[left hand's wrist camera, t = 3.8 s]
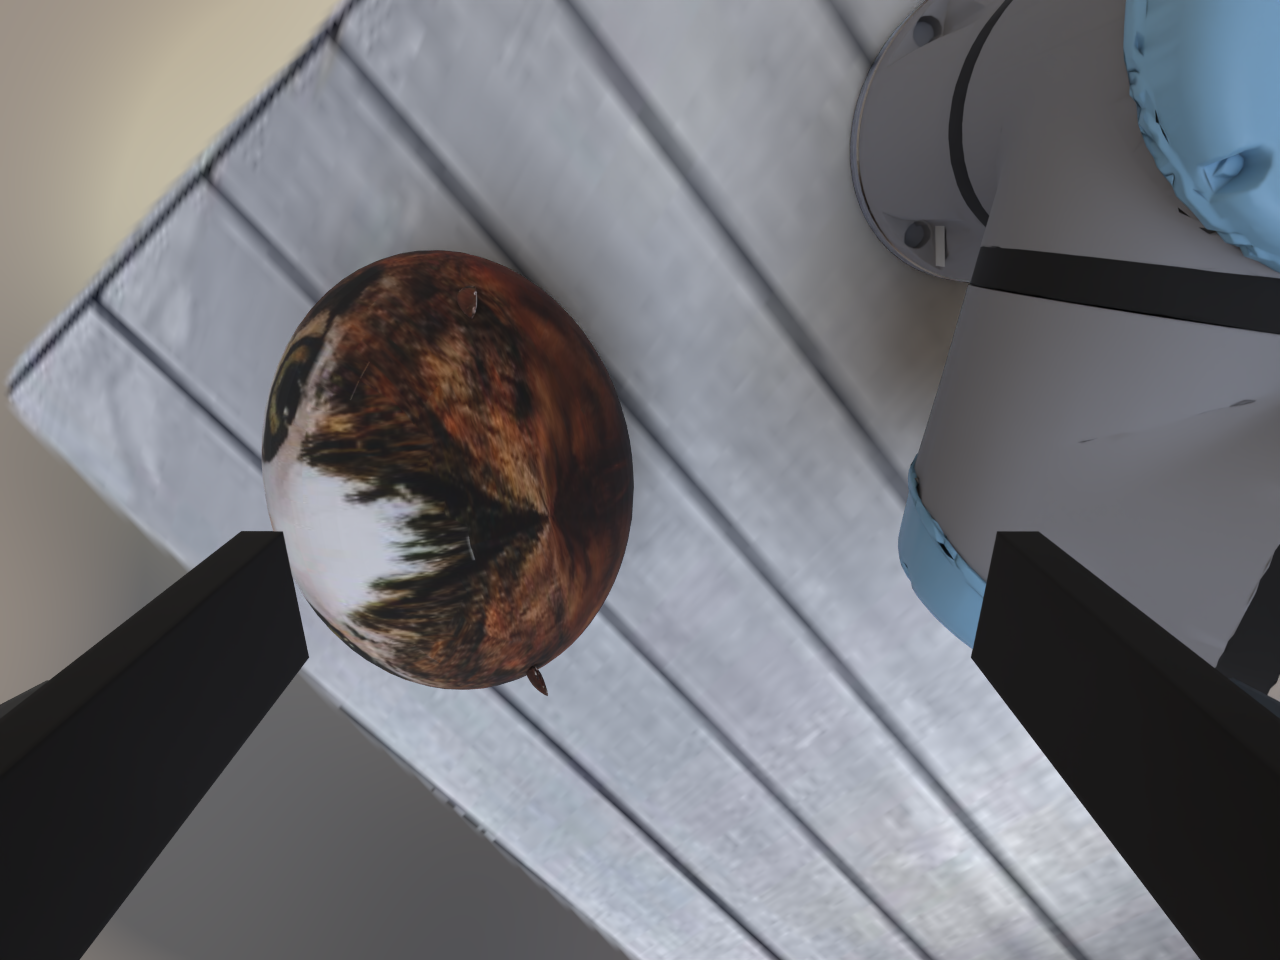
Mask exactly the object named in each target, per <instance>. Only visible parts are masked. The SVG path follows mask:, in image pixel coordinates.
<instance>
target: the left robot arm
mask: <svg viewBox="0 0 1280 960" xmlns="http://www.w3.org/2000/svg"><path fill="white" fill-rule="evenodd" d="M850 160H851V171H852V179H853V184H854V188H855V193H856V196H857V199H858V202H859V205H860V207H861V209H862V212H863V214H864V216H865V218H866V220H867V222H868V224H869V225H870V227H871V229H872V230H873V232H874V233H875V234H876V236H877V237H878V238H879V240H880V241H881V242H882V243H883V244H884V245H885V246H886V247H887V249H888V250H890V251H891V252H892V253H893V254H894V255H895V256H896V257H898V258H899V259H901V260H902V261H903V262H905V263H906V264H908V265H910V266H912V267H913V268H915V269H917V270H919V271H922V272H924V273H927V274H929V275H932V276H936V277H940V278H944V279H949V280H955V281H961V282H970V284H968V288H967V291H966V294H965V298H964V301H963V305H962V308H961V312H960V315H959V319H958V322H957V326H956V329H955V333H954V336H953V340H952V343H951V347H950V350H949V353H948V357H947V360H946V364H945V367H944V371H943V374H942V378H941V381H940V385H939V388H938V391H937V394H936V397H935V401H934V404H933V407H932V410H931V414H930V417H929V420H928V423H927V427H926V430H925V433H924V436H923V439H922V443H921V446H920V449H919V452H918V454H917V455H916V456H915V458H914V460H913V462H912V464H911V466H910V469H909V474H908V488H909V494H908V499H907V503H906V507H905V511H904V515H903V519H902V523H901V527H900V532H899V539H898V550H899V557H900V562H901V565H902V567H903V569H904V571H905V573H906V575H907V577H908V578H909V579H910V581H911V584H912V588H913V590H914V592H915V593H916V595H917V596H918V598H919V599H920V600H921V601H922V603H923V604H924V605H925V606H926V608H927V609H928V610H929V611H930V612H931V613H932V614H933V615H934V616H935V618H936V619H937V620H938V621H939V622H941V623H942V624H943V625H944V626H945V627H946V628H947V629H948V630H949V631H950V632H951V633H953V634H954V635H955V636H956V637H957V638H959V639H960V640H961V641H962V642H964V643H965V644H966V645H968V646H969V647H970V648H972V649H973V650H972V655H971V658H972V659H973V661H974V662H975V663H976V665H977V666H978V667H979V669H980V670H981V671H982V673H983V674H984V675H985V677H986V678H987V679H988V681H989V682H990V683H991V685H992V686H993V687H994V688H995V690H996V691H997V692H998V694H999V695H1000V696H1001V698H1002V699H1003V700H1004V702H1005V703H1006V704H1007V706H1008V707H1009V708H1010V710H1011V711H1012V712H1013V713H1014V715H1015V716H1016V717H1017V719H1018V720H1019V721H1020V723H1021V724H1022V725H1023V727H1024V728H1025V729H1026V731H1027V732H1028V733H1029V735H1030V736H1031V737H1032V739H1033V740H1034V741H1035V742H1036V744H1037V745H1038V746H1039V748H1040V749H1041V750H1042V752H1043V753H1044V754H1045V756H1046V757H1047V758H1048V760H1049V761H1050V762H1051V764H1052V765H1053V766H1054V767H1055V769H1056V770H1057V771H1058V773H1059V774H1060V775H1061V777H1062V778H1063V779H1064V781H1065V782H1066V783H1067V785H1068V786H1069V787H1070V789H1071V790H1072V791H1073V792H1074V794H1075V795H1076V796H1077V798H1078V799H1079V800H1080V802H1081V803H1082V804H1083V806H1084V807H1085V808H1086V810H1087V811H1088V812H1089V814H1090V815H1091V816H1092V818H1093V819H1094V820H1095V821H1096V823H1097V824H1098V825H1099V827H1100V828H1101V829H1102V831H1103V832H1104V833H1105V835H1106V836H1107V837H1108V839H1109V840H1110V841H1111V843H1112V844H1113V845H1114V846H1115V848H1116V849H1117V850H1118V852H1119V853H1120V854H1121V856H1122V857H1123V858H1124V860H1125V861H1126V862H1127V864H1128V865H1129V866H1130V868H1131V869H1132V870H1133V872H1134V873H1135V874H1136V875H1137V877H1138V878H1139V879H1140V881H1141V882H1142V883H1143V885H1144V886H1145V887H1146V889H1147V890H1148V891H1149V893H1150V894H1151V895H1152V897H1153V898H1154V899H1155V900H1156V902H1157V903H1158V904H1159V906H1160V907H1161V908H1162V910H1163V911H1164V912H1165V914H1166V915H1167V916H1168V918H1169V919H1170V920H1171V922H1172V923H1173V924H1174V925H1175V927H1176V928H1177V929H1178V931H1179V932H1180V933H1181V935H1182V936H1183V937H1184V939H1185V940H1186V941H1187V943H1188V944H1189V945H1190V947H1191V948H1192V949H1193V951H1194V952H1195V953H1196V954H1197V956H1198V957H1199V958H1200V960H1280V0H926V1H924V2H923V3H922V4H921V5H919V6H918V7H917V8H916V9H915V10H914V11H913V12H912V13H911V14H910V15H909V16H907V17H906V19H905V20H904V21H903V22H902V23H901V24H900V25H899V26H898V28H897V29H896V30H895V31H894V32H893V34H892V35H891V36H890V38H889V39H888V40H887V42H886V43H885V44H884V46H883V48H882V49H881V51H880V52H879V54H878V56H877V57H876V59H875V61H874V63H873V65H872V67H871V69H870V70H869V72H868V75H867V77H866V79H865V82H864V84H863V87H862V89H861V92H860V96H859V99H858V102H857V105H856V110H855V114H854V118H853V124H852V131H851V144H850ZM308 658H309V655H308V650H307V645H306V641H305V636H304V631H303V626H302V621H301V616H300V611H299V607H298V602H297V597H296V592H295V587H294V582H293V577H292V573H291V568H290V563H289V558H288V553H287V548H286V543H285V539H284V534H283V531H241V532H240V533H238V534H237V535H236V536H235V537H233V538H232V539H231V540H229V541H228V542H227V543H226V544H224V545H223V546H222V547H220V548H219V549H218V550H217V551H215V552H214V553H213V554H211V555H210V556H209V557H208V558H206V559H205V560H204V561H202V562H201V563H200V564H199V565H197V566H196V567H195V568H193V569H192V570H191V571H190V572H188V573H187V574H186V575H184V576H183V577H182V578H181V579H179V580H178V581H177V582H175V583H174V584H173V585H172V586H170V587H169V588H168V589H166V590H165V591H164V592H163V593H161V594H160V595H159V596H157V597H156V598H155V599H154V600H152V601H151V602H150V603H148V604H147V605H146V606H145V607H143V608H142V609H141V610H139V611H138V612H137V613H135V614H134V615H133V616H132V617H130V618H129V619H128V620H126V621H125V622H124V623H123V624H121V625H120V626H119V627H117V628H116V629H115V630H114V631H112V632H111V633H110V634H109V635H107V636H106V637H105V638H103V639H102V640H101V641H99V642H98V643H97V644H96V645H94V646H93V647H92V648H91V649H89V650H88V651H87V652H85V653H84V654H83V655H81V656H80V657H79V658H78V659H76V660H75V661H74V662H72V663H71V664H70V665H69V666H67V667H66V668H65V669H63V670H62V671H61V672H60V673H58V674H57V675H56V676H54V677H53V678H52V679H51V680H49V681H45V682H43V683H41V684H39V685H37V686H35V687H33V688H31V689H29V690H28V691H26V692H24V693H22V694H20V695H18V696H16V697H14V698H12V699H10V700H8V701H6V702H4V703H2V704H1V705H0V960H80V958H81V957H82V956H83V954H84V953H85V952H86V951H87V949H88V948H89V947H90V945H91V944H92V943H93V941H94V940H95V939H96V937H97V936H98V935H99V933H100V932H101V931H102V929H103V928H104V927H105V925H106V924H107V923H108V922H109V920H110V919H111V918H112V916H113V915H114V914H115V912H116V911H117V910H118V908H119V907H120V906H121V904H122V903H123V902H124V900H125V899H126V898H127V897H128V895H129V894H130V893H131V891H132V890H133V889H134V887H135V886H136V885H137V883H138V882H139V881H140V879H141V878H142V877H143V875H144V874H145V873H146V871H147V870H148V869H149V868H150V866H151V865H152V864H153V862H154V861H155V860H156V858H157V857H158V856H159V854H160V853H161V852H162V850H163V849H164V848H165V846H166V845H167V844H168V843H169V841H170V840H171V839H172V837H173V836H174V835H175V833H176V832H177V831H178V829H179V828H180V827H181V825H182V824H183V823H184V821H185V820H186V819H187V818H188V816H189V815H190V814H191V812H192V811H193V810H194V808H195V807H196V806H197V804H198V803H199V802H200V800H201V799H202V798H203V796H204V795H205V794H206V792H207V791H208V790H209V789H210V787H211V786H212V785H213V783H214V782H215V781H216V779H217V778H218V777H219V775H220V774H221V773H222V771H223V770H224V769H225V767H226V766H227V765H228V764H229V762H230V761H231V760H232V758H233V757H234V756H235V754H236V753H237V752H238V750H239V749H240V748H241V746H242V745H243V744H244V742H245V741H246V740H247V738H248V737H249V736H250V734H251V733H252V732H253V731H254V729H255V728H256V727H257V725H258V724H259V723H260V721H261V720H262V719H263V717H264V716H265V715H266V713H267V712H268V711H269V710H270V708H271V707H272V706H273V704H274V703H275V702H276V700H277V699H278V698H279V696H280V695H281V694H282V692H283V691H284V690H285V688H286V687H287V686H288V685H289V683H290V682H291V680H292V679H293V678H294V677H295V675H296V674H297V673H298V671H299V670H300V669H301V667H302V666H303V665H304V663H305V662H306V661H307V659H308Z"/></svg>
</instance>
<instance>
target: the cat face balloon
mask: <svg viewBox="0 0 1280 960" xmlns="http://www.w3.org/2000/svg"><path fill="white" fill-rule="evenodd" d="M262 471H263V483H264V489H265V496H266V502H267V508H268V512H269V516H270V520H271V524H272V528H273V531H283V534H284V539H285V543H286V548H287V553H288V558H289V563H290V568H291V573H292V577H293V578H294V580H295V582H296V583H297V585H298V587H299V589H300V590H301V592H302V594H303V595H304V597H305V599H306V600H307V601H308V603H309V604H310V605H311V607H312V608H313V610H314V611H315V612H316V614H317V615H318V616H319V617H320V618H321V620H322V621H323V622H324V623H325V624H326V625H327V626H328V627H329V629H330V630H331V631H332V632H333V633H334V634H335V635H336V636H338V637H339V638H340V639H341V640H342V641H343V642H344V643H345V644H346V645H348V646H349V647H350V648H351V649H352V650H353V651H355V652H356V653H358V654H359V655H360V656H362V657H363V658H364V659H366V660H367V661H369V662H371V663H373V664H375V665H376V666H378V667H380V668H382V669H383V670H385V671H387V672H389V673H391V674H393V675H396V676H398V677H400V678H403V679H405V680H408V681H412V682H415V683H419V684H422V685H426V686H430V687H436V688H442V689H459V690H467V689H481V688H487V687H492V686H497V685H501V684H504V683H507V682H510V681H514V680H517V679H519V678H522V677H524V676H526V675H527V677H528V678H529V680H530V682H531V683H532V685H533V686H534V687H535V688H536V689H537V690H539V691H540V692H541V693H543V694H544V695H546V696H548V693H547V689H546V685H545V682H544V679H543V677H542V675H541V673H540V672H539V670H538V669H539V668H541V667H543V666H545V665H546V664H548V663H549V662H550V661H552V660H553V659H555V658H556V657H557V656H559V655H560V654H561V653H562V652H564V651H565V650H566V649H567V648H568V647H569V646H570V645H572V644H573V642H574V641H575V640H576V639H577V638H578V637H579V636H580V635H581V634H582V633H583V632H584V630H585V629H586V628H587V627H588V625H589V624H590V623H591V621H592V620H593V619H594V617H595V616H596V614H597V613H598V611H599V610H600V608H601V607H602V605H603V603H604V601H605V600H606V598H607V596H608V594H609V592H610V590H611V588H612V586H613V584H614V582H615V579H616V577H617V574H618V572H619V569H620V566H621V563H622V560H623V557H624V554H625V550H626V546H627V542H628V537H629V531H630V526H631V520H632V507H633V490H634V481H633V464H632V454H631V446H630V440H629V435H628V430H627V426H626V422H625V418H624V415H623V411H622V408H621V405H620V402H619V399H618V396H617V394H616V391H615V388H614V385H613V383H612V381H611V379H610V377H609V374H608V372H607V370H606V368H605V366H604V364H603V363H602V361H601V359H600V357H599V355H598V354H597V352H596V350H595V349H594V347H593V346H592V344H591V343H590V341H589V340H588V338H587V337H586V335H585V334H584V332H583V331H582V330H581V329H580V327H579V326H578V325H577V324H576V322H575V321H574V320H573V319H572V318H571V317H570V316H569V314H568V313H567V312H566V311H565V310H564V309H563V308H562V307H561V306H560V305H559V304H558V303H557V302H556V301H555V300H554V299H553V298H551V297H550V296H549V295H548V294H547V293H546V292H544V291H543V290H542V289H541V288H539V287H538V286H536V285H535V284H533V283H532V282H530V281H529V280H528V279H526V278H525V277H523V276H521V275H520V274H518V273H516V272H514V271H512V270H511V269H509V268H507V267H505V266H503V265H500V264H498V263H495V262H492V261H490V260H487V259H484V258H481V257H478V256H474V255H470V254H466V253H461V252H452V251H440V250H434V251H414V252H408V253H402V254H398V255H394V256H391V257H388V258H385V259H381V260H379V261H376V262H374V263H372V264H369V265H367V266H365V267H363V268H361V269H359V270H357V271H355V272H354V273H352V274H351V275H349V276H348V277H346V278H344V279H343V280H341V281H340V282H339V283H338V284H337V285H335V286H334V287H333V288H332V289H331V290H329V291H328V292H327V293H326V294H325V295H324V296H323V297H322V298H321V299H320V300H319V301H318V302H317V303H316V305H315V306H314V307H313V308H312V309H311V310H310V311H309V312H308V314H307V315H306V317H305V318H304V319H303V321H302V322H301V323H300V325H299V326H298V327H297V329H296V331H295V332H294V334H293V336H292V337H291V339H290V341H289V343H288V344H287V346H286V348H285V350H284V353H283V355H282V357H281V359H280V362H279V364H278V366H277V369H276V372H275V375H274V378H273V381H272V384H271V387H270V391H269V396H268V400H267V405H266V409H265V416H264V424H263V432H262Z"/></svg>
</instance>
